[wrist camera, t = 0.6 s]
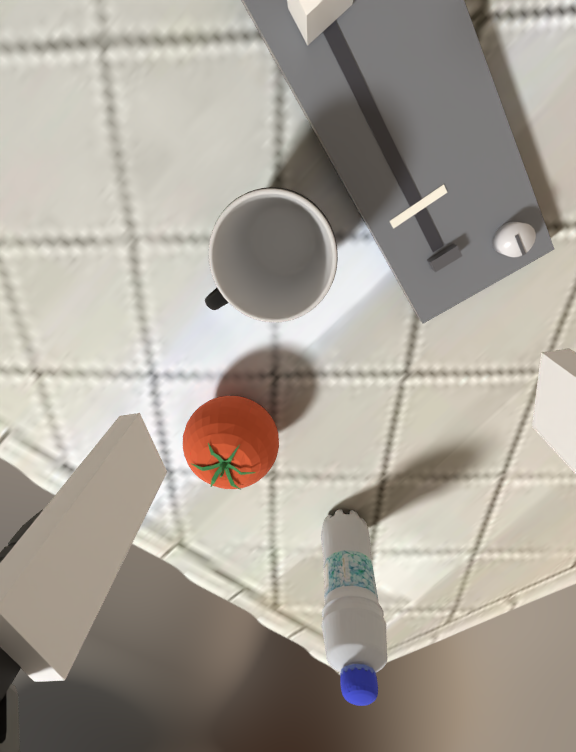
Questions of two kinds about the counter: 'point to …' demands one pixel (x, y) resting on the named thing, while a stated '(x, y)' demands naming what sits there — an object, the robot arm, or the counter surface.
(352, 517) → the bottle
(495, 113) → the console
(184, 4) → the counter surface
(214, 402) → the tomato
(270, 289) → the mug
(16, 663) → the robot arm
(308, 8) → the fader tab
